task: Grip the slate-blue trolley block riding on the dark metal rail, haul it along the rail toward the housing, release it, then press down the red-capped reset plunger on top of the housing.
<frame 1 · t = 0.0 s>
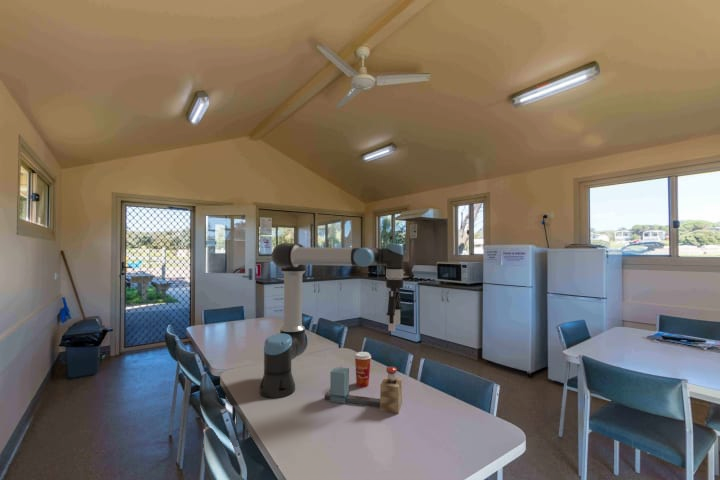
hand: (394, 327, 148), 28 cm above the table, fingers open, 13 cm apart
rail: (353, 402, 137), on the table
housing: (391, 407, 133), on the table
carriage: (339, 384, 139), point 6 cm above the table, slide at 0.0 cm
paper cup: (362, 385, 155), on the table
plunger: (391, 376, 133), point 12 cm above the table, slide at 0.0 cm
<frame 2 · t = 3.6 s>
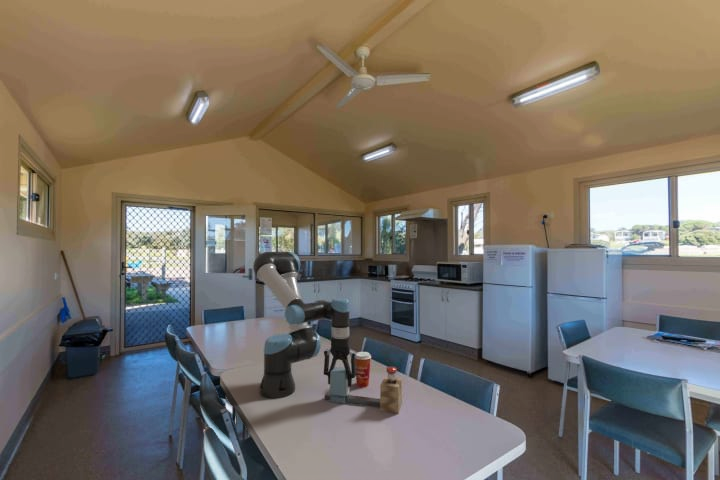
hand: (339, 393, 139), 3 cm above the table, fingers closed on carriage, 6 cm apart
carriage: (339, 384, 139), point 6 cm above the table, slide at 0.0 cm, touching gripper
everything else where it was.
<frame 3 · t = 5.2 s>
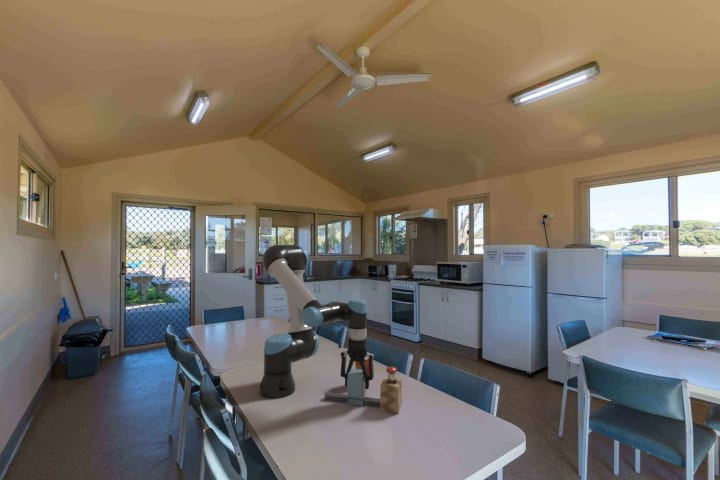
hand: (356, 395, 137), 3 cm above the table, fingers closed on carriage, 6 cm apart
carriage: (356, 386, 137), point 6 cm above the table, slide at 7.4 cm, touching gripper
everything else where it was.
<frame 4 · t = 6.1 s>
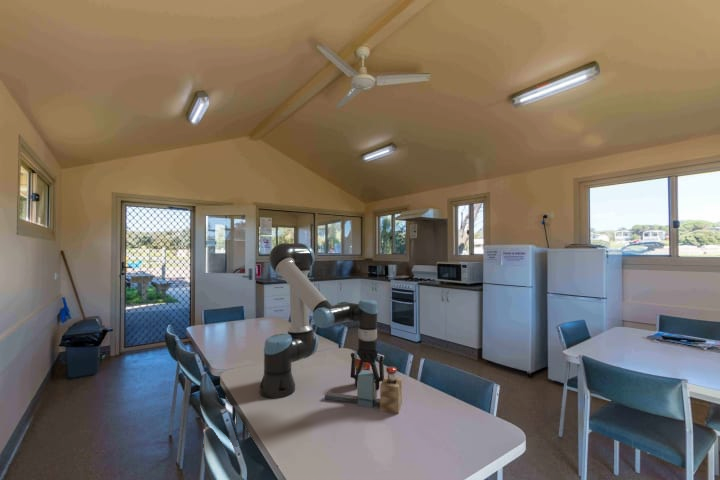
hand: (366, 396, 136), 3 cm above the table, fingers closed on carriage, 6 cm apart
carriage: (367, 388, 136), point 6 cm above the table, slide at 11.6 cm, touching gripper
everything else where it was.
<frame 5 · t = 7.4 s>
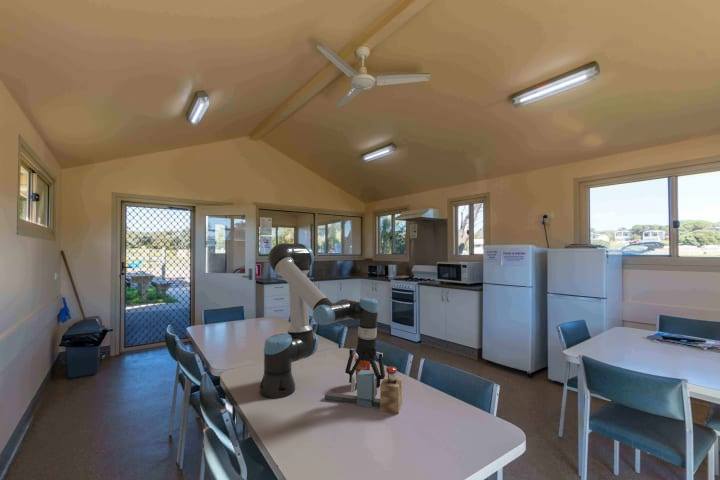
hand: (364, 393, 136), 4 cm above the table, fingers open, 9 cm apart
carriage: (366, 387, 136), point 6 cm above the table, slide at 11.3 cm
everything else where it was.
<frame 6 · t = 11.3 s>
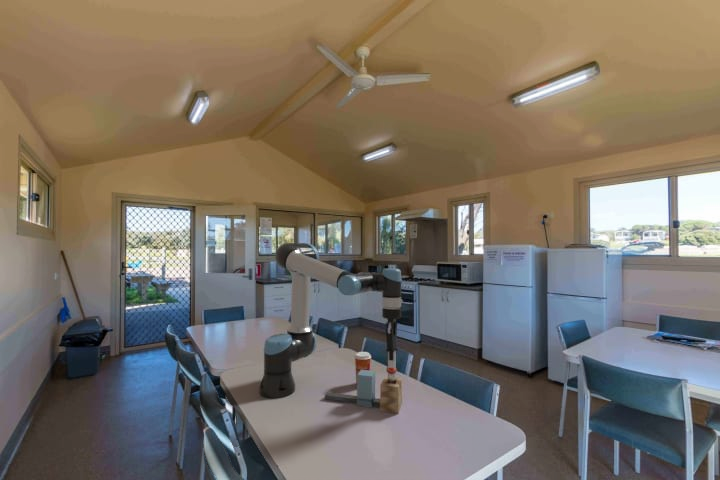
hand: (391, 367, 133), 15 cm above the table, fingers closed
plunger: (391, 376, 133), point 12 cm above the table, slide at 0.0 cm, touching gripper
everything else where it was.
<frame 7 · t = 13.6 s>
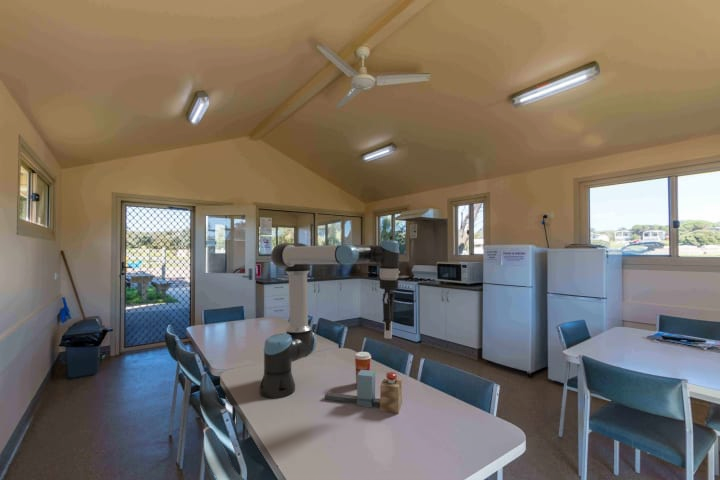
hand: (388, 337, 135), 27 cm above the table, fingers closed
plunger: (391, 382, 133), point 10 cm above the table, slide at 2.3 cm
everything else where it was.
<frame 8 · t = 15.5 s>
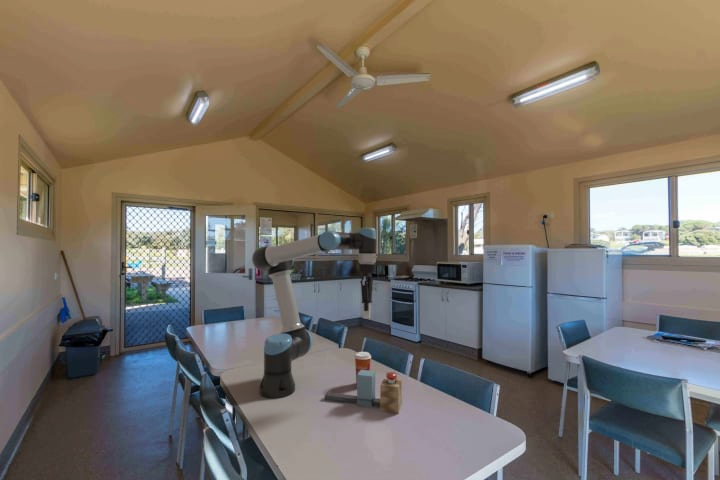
hand: (366, 318, 146), 32 cm above the table, fingers closed
nothing on the table moved.
at the end: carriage slide at 11.3 cm; plunger slide at 2.3 cm; the gripper is holding nothing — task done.
